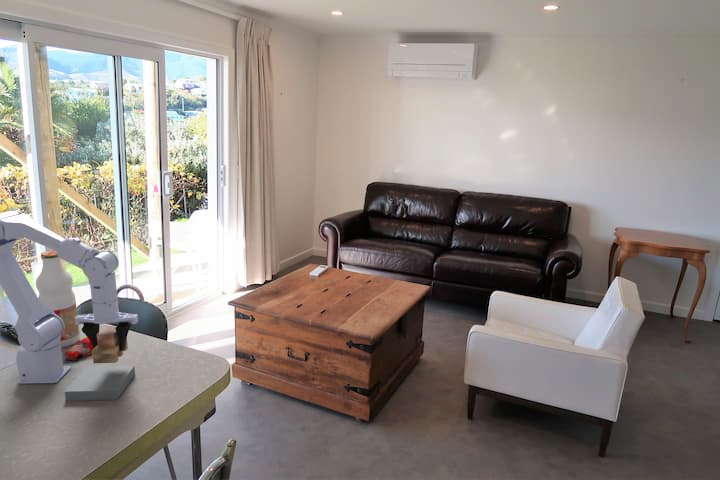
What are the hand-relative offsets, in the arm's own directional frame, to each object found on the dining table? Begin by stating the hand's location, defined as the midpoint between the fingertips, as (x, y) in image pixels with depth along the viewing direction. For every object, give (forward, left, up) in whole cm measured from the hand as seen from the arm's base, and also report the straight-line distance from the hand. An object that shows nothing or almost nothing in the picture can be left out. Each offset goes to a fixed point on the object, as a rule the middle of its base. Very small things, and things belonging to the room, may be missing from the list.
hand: (110, 349), depth 126 cm
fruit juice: (-23, +22, -9) cm, 33 cm away
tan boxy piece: (0, 0, -2) cm, 2 cm away
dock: (-1, -4, -9) cm, 9 cm away
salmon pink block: (0, 0, +2) cm, 2 cm away
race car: (-13, +16, -9) cm, 23 cm away
